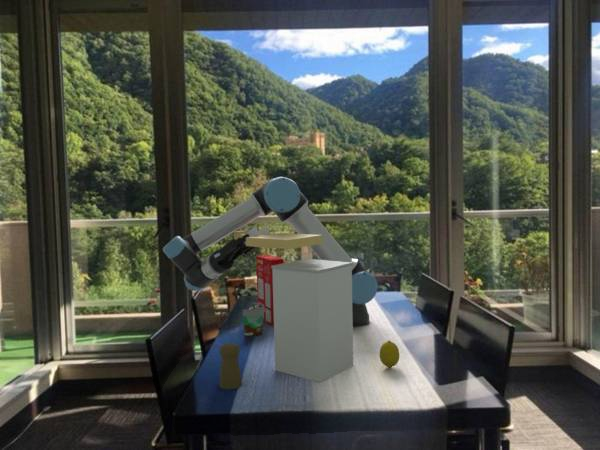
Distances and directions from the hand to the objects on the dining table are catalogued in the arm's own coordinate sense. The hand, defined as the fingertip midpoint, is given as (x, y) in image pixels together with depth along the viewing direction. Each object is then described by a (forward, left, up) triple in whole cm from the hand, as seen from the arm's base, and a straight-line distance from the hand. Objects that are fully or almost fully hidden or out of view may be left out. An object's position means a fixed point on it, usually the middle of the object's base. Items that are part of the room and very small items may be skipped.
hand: (262, 230), depth 160 cm
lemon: (-21, +32, -39) cm, 55 cm away
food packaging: (-25, -35, -39) cm, 58 cm away
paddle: (-1, +3, -4) cm, 5 cm away
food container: (-11, -23, -39) cm, 47 cm away
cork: (+20, +14, -39) cm, 46 cm away
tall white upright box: (-5, +18, -39) cm, 43 cm away
